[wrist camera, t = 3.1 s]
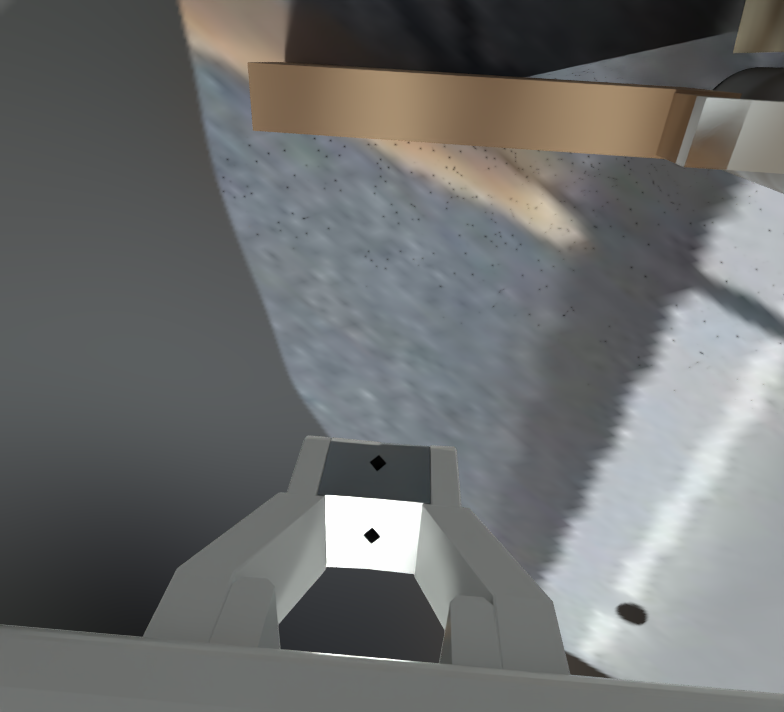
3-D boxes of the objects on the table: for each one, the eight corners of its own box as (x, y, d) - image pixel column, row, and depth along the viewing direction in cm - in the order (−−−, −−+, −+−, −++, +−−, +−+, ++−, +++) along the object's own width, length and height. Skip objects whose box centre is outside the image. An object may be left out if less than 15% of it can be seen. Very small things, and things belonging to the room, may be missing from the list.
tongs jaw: (819, 95, 19) (970, 109, 13) (794, 153, 20) (926, 187, 14) (281, 62, 20) (222, 62, 14) (284, 118, 21) (229, 138, 15)
